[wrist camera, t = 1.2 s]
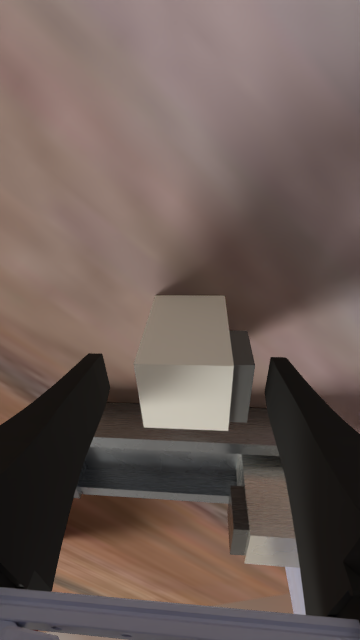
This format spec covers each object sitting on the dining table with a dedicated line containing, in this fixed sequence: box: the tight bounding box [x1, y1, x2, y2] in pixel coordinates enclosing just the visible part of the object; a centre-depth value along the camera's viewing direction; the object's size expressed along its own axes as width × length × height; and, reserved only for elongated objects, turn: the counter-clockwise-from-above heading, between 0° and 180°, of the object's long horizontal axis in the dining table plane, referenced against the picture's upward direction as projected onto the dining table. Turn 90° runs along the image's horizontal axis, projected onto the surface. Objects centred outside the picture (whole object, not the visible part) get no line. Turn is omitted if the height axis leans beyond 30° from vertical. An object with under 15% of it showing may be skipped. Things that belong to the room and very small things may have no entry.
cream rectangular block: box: [134, 295, 255, 431], centre depth 13 cm, size 4×4×5 cm
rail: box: [74, 403, 300, 568], centre depth 18 cm, size 7×16×7 cm, turn 92°
